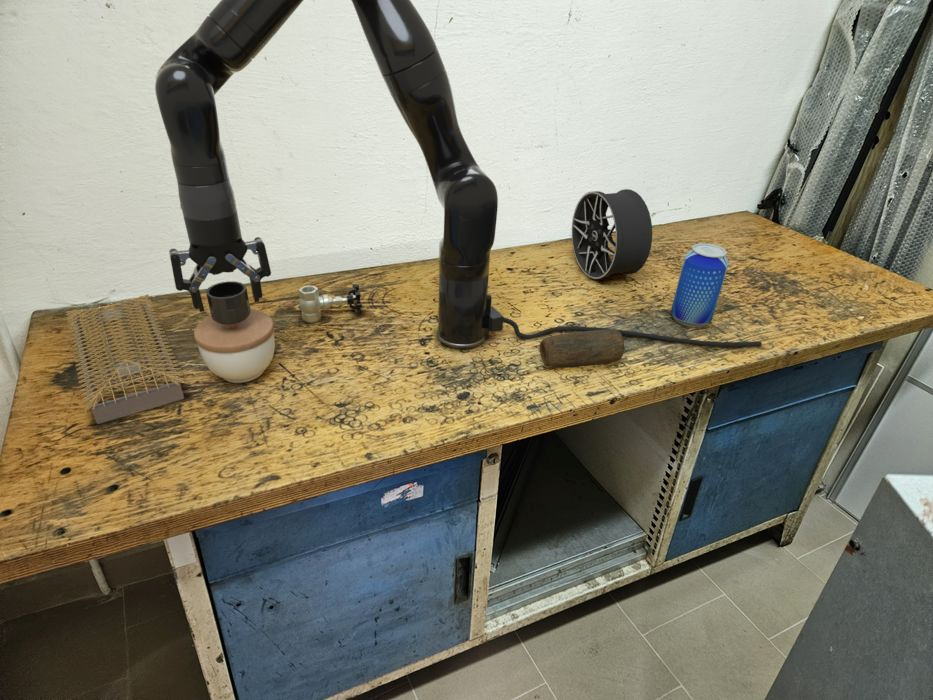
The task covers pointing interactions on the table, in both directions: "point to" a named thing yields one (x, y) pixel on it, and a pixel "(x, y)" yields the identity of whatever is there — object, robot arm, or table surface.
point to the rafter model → (126, 368)
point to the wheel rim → (595, 234)
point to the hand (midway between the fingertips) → (229, 304)
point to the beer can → (699, 285)
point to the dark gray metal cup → (228, 302)
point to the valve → (325, 302)
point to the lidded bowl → (237, 346)
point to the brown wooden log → (582, 348)
